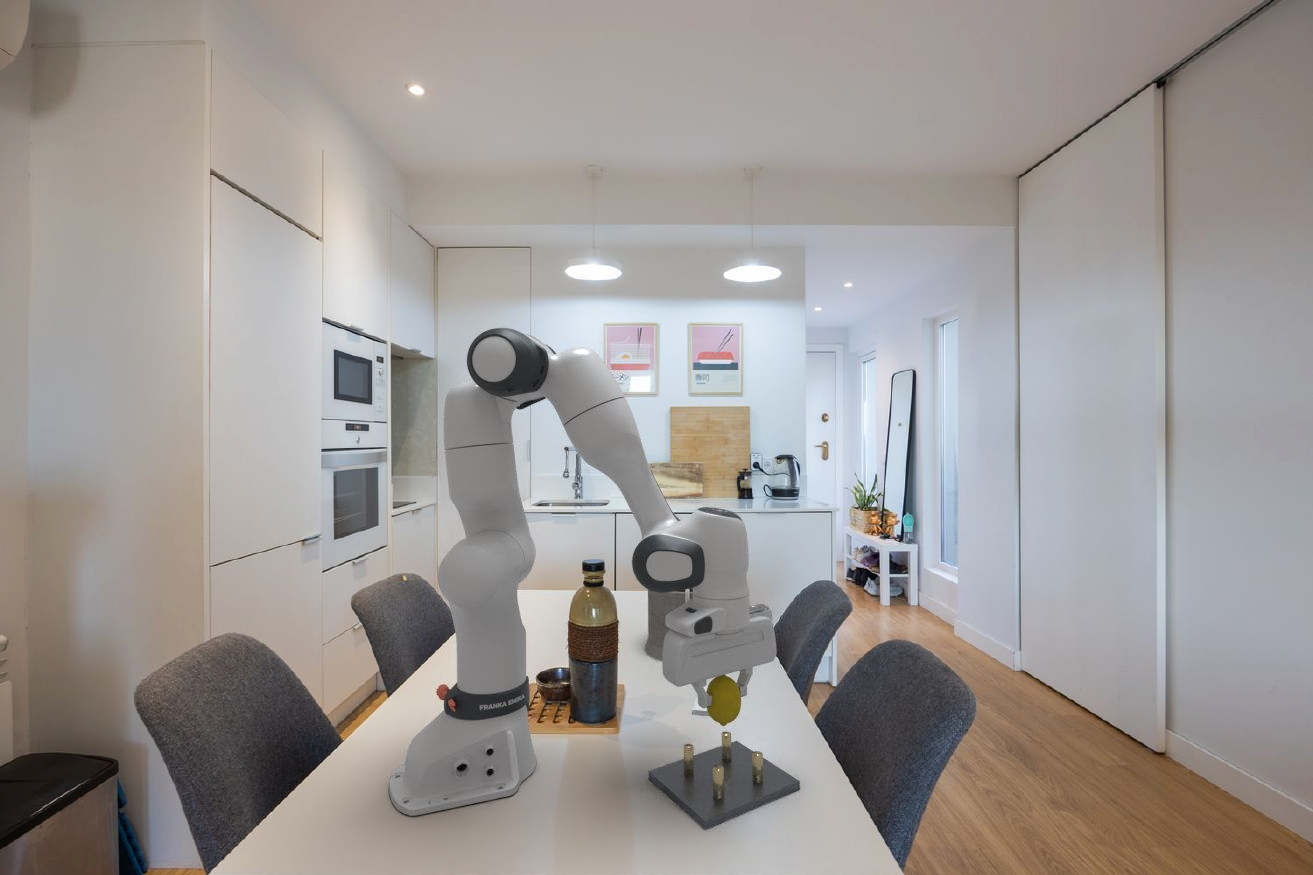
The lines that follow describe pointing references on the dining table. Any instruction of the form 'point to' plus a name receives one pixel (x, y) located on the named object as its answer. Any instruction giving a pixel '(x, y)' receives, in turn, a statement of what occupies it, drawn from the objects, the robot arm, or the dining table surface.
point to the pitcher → (662, 618)
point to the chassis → (722, 782)
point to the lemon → (724, 699)
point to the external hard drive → (697, 709)
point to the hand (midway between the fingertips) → (722, 700)
